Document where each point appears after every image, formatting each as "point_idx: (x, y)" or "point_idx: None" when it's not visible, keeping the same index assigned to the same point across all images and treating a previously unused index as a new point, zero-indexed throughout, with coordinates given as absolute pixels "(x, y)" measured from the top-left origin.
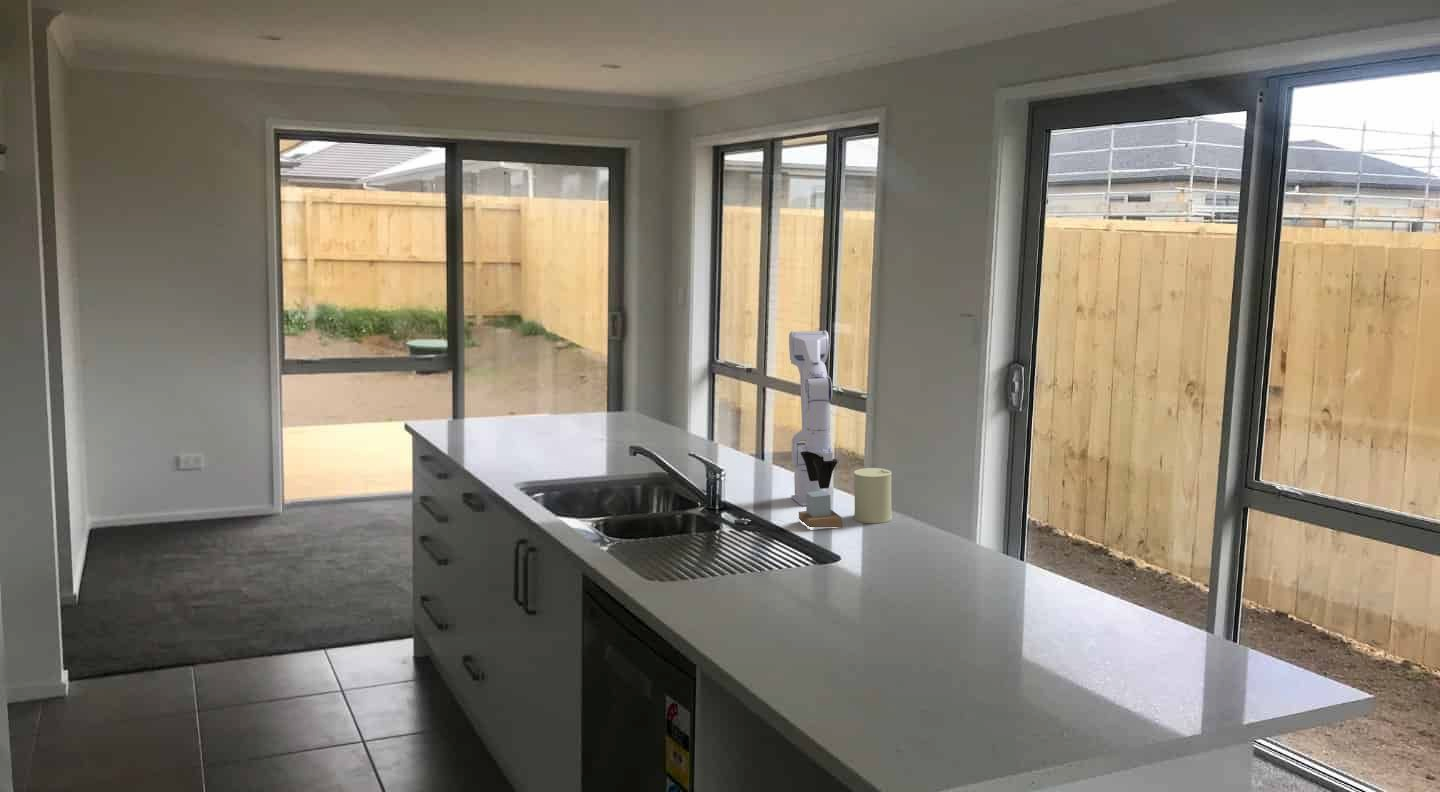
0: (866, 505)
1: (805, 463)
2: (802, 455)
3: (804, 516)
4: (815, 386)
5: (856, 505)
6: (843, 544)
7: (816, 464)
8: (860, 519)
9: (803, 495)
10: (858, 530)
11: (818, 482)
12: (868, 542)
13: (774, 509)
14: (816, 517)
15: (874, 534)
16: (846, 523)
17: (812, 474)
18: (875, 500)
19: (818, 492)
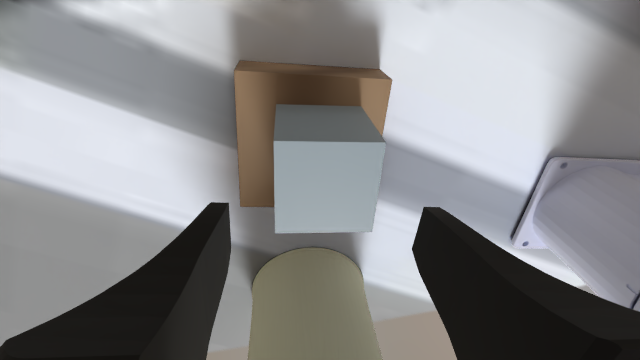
0: (265, 309)
1: (534, 275)
2: (617, 326)
3: (308, 74)
4: None
5: (309, 285)
6: (8, 114)
7: (1, 349)
8: (285, 258)
9: (591, 185)
10: (192, 219)
11: (216, 219)
12: (34, 201)
13: (595, 44)
14: (269, 117)
15: (133, 245)
16: None
17: (439, 248)
18: (249, 345)
19: (349, 200)
